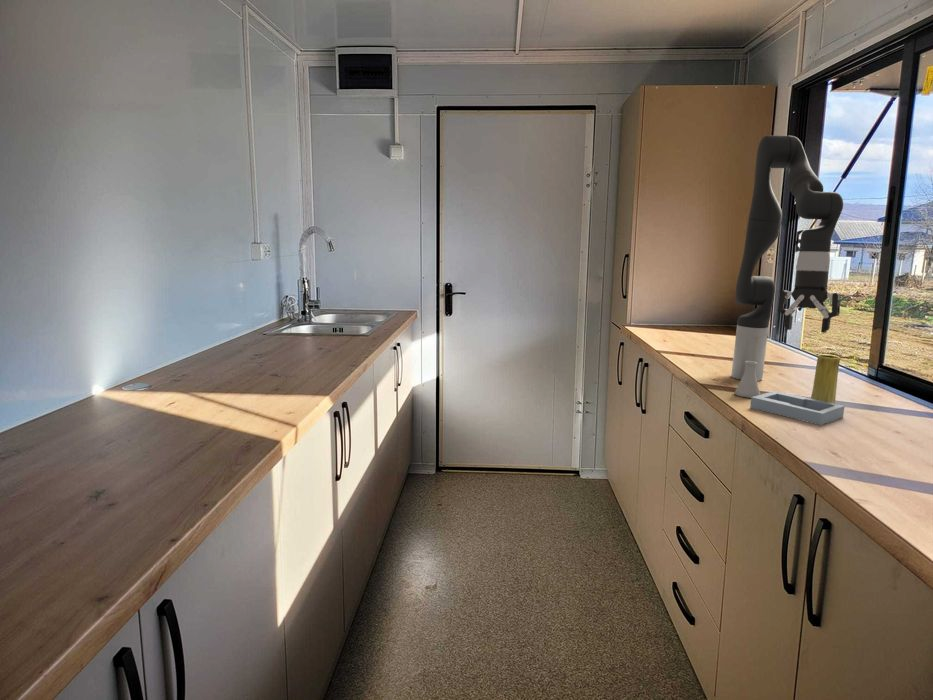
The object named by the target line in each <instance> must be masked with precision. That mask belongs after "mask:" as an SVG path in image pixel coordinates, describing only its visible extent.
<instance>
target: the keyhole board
mask: <svg viewBox="0 0 933 700" xmlns="http://www.w3.org/2000/svg"><path fill="white" fill-rule="evenodd" d="M750 409H753V410H757V411H760V412H761V411H762V412H765V411H766V413H769V412H770V414H773V413H775V414H774V415H777V414H780V415H779V416H781V415H784V416H783V417H785V416H788V417H787V418H789V417H791V418H790V419H793V418H796V419H795V420H797V419H800V420H799V421H801V420H804V421H803V422H805V421H808V422H807V423H809V422H812V423H811V424H813V423H816V424H815V425H818V424H820V425H819V426H822V424H823V425H826V424H828V423H831V422H833V421H834V422H835V421H836V420H839V419H841V418H844V415H845V414H844V413H845V405H842V404H838V403H835V404H834V403H829V402H824V401H820V400H815V399H811V397H810V398H809V397H806V396H800V395H795V394H791V393H786V392H782V391H779V390H772V391H770V392H765V393H762V394H761V393H760V395H758V396H754V397H751V398H750ZM825 423H826V424H825Z"/></svg>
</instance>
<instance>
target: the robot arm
mask: <svg viewBox="0 0 933 700" xmlns="http://www.w3.org/2000/svg"><path fill="white" fill-rule="evenodd" d="M786 168H787V169H790V170H789V173H788V174H787V177H786V185H787V188H788V189H789V191H790V193H791V194H792V195H793V196H794V202H795V210H796V211H795V212H796V215H798V216H799V217H800V218H802V219H805V220H820V222H819V224H818V226H817V227H813V228H807V229H805V230H803V231H802V232H801V234H800V239H799V240H800V241H799V252H798V256H797V259H796V260H797V261H796V266H795V269H796V270H795V279H794V289H793V291H788V290H781V291H780V296H779V301H778V308H777V312H778V313H780V314H783V315H784V324H783V325H784V326H783V327H784V328H785V329H786V330H787V331H791V330H792V327H793V319H794V315H793V314H794V313H795V311H797V310H798V309H800V308H801V309H806V308H807V309H817V310H818V312H820V314H821V315H822V316H823V318H822V322H821V330H820V331H821V333H823V334H825V333H827V331H829V330H830V327H831V319H832V318H834V317H838V316H840V312H841V311H840V310H841V293H839V292H834V293H829V292H828V283H829V274H830V264H831V256H830V253H831V245H832V244H831V243H832V237H833V234H834V231H835V228H836V226H837V224H838V221H839V219H840V216H841V214H842V212H843V209H844V199H843V197H842V195H841V194H840V193H839V192H837V191H836V192H835V191H824V185H823V183H822V181H821V180H820V178H819V177H818V176H817V175H816V173H815V172H814V171H813V169H812V167H811V164H810V162H809V159H808V157H807V154H806V151H805V148H804V146H803V144H802V141H801V140H800V139H799V138H798V137H797V136H794V135H765V136H763V137H762V138H761V140H760V141H759V143H758V147H757V151H756V158H755V170H754V183H753V190H752V191H753V192H752V198H751V204H750V208H749V214H748V220H747V226H746V233H745V240H744V241H745V242H744V249H743V255H742V259H741V264H740V268H739V270H738V271H739V272H738V275H737V280H736V284H735V294H734V297H735V301H736V302H737V304H739V305H746V306H748V305H749V306H756V308H755V309H754V310H753V311H750V312H747V313H744V314H742V315H739V316H738V318H737V320H736V331H735V340H734V349H733V358H732V367H731V374H730V375H731V376H730V377H731V378H733V379H737V380H740V381H741V379H742V377H743V375H744V372H745V368H746V364H745V361H753V362H757V364H756V366H755V374H756V379H757V382H760V381H762V380H763V376H764V369H765V359H766V352H767V351H766V350H767V343H768V342H767V341H768V333H769V325H770V321H771V317H772V309H773V303H774V299H775V298H774V297H775V290H776V285H775V280H774V278H772V276H763V275H753V273H754V270H755V268H756V267H757V264H758V263H759V261H760V259H761V258H762V256H764V254H765V253H766V252H767V251H768V250H769V249H770V248H771V247H772V246H773V244H774V243H775V242H776V240H777V239H778V238H779V235H780V231H781V225H782V218H783V211H782V208H781V205H780V203H779V201H778V199H777V196H776V195H775V193H774V190H773V188H772V183H771V171H772V169H786ZM791 297H792V298H793V300H794V301H793V303H792V304H791V305H789V307H788V308H787V305H788V299H790V298H791ZM827 299H829V302H832V303H831V312H830V311H829V309H828V307H827V306H826V305H825V301H826V300H827Z"/></svg>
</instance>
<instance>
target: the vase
mask: <svg viewBox="0 0 933 700" xmlns="http://www.w3.org/2000/svg"><path fill="white" fill-rule="evenodd" d="M840 361H841V357H840V356H838V355H834V354H818V355H817V360H816V366H815V372H814V378H813V384H812V385H813V386H812V390H811V396H810V398H811V399H815V400H820V401H824V402H829V403H834V404H836V395H837V387H838V375H839V368H840Z"/></svg>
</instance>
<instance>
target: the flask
mask: <svg viewBox="0 0 933 700" xmlns="http://www.w3.org/2000/svg"><path fill="white" fill-rule="evenodd" d="M745 364H746V368H745V372H744V375H743V377H742V379H741V380H740V381H739V384H738V386H737V387H736V389H735V391H734V395H736V396H738V397H742V398H749V399H751V397H754V396H758V395H761V392H760V388H759V384H758V381H757V379H756V374H755V366H756V364H757V362H753V361H745Z"/></svg>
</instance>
